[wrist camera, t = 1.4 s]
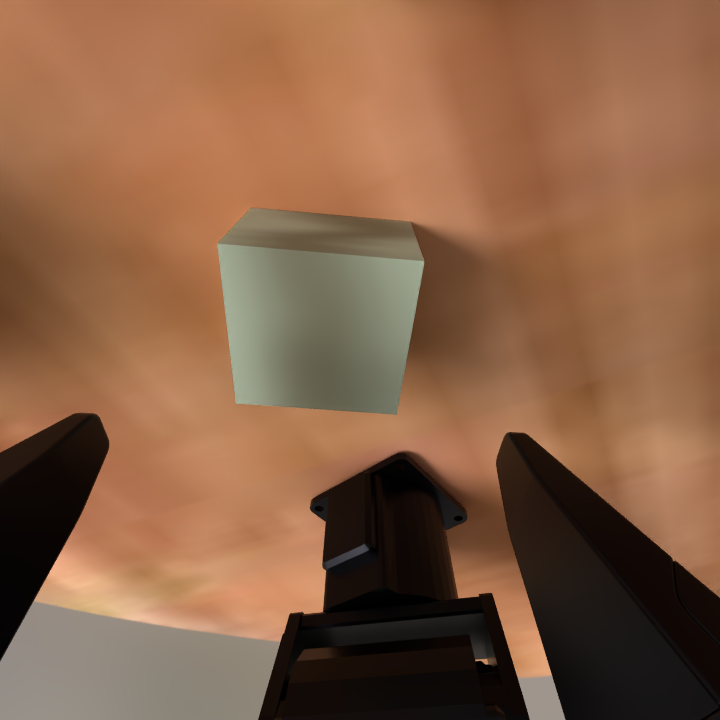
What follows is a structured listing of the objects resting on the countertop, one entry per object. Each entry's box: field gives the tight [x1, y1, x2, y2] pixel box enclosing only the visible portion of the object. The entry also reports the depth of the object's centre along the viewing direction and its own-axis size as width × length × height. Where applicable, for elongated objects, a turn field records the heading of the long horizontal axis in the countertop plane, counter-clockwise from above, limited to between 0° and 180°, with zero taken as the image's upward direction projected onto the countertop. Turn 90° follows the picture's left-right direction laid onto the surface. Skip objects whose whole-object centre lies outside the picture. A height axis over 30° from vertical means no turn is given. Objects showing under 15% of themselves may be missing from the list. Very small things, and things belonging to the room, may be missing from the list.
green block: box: [217, 208, 425, 414], centre depth 14 cm, size 6×6×4 cm
